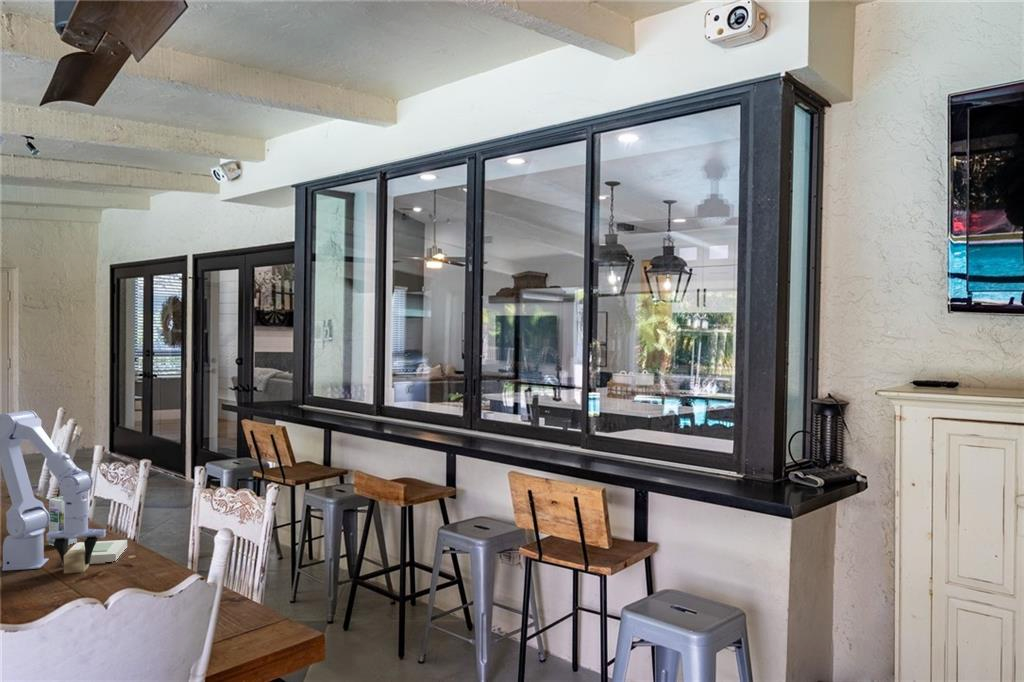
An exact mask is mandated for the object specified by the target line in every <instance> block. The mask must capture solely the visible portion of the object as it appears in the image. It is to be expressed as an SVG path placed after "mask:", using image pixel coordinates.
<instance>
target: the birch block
mask: <svg viewBox="0 0 1024 682" xmlns="http://www.w3.org/2000/svg"><path fill="white" fill-rule="evenodd" d="M89 567H90V564H85V549H80V550H70V549H69V551H68V552H67V553H66V554H65V555H64V566H63V574H74V573H77V574H78V573H84V572H85V571H86V570H87V569H88V568H89Z"/></svg>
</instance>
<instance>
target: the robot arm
mask: <svg viewBox="0 0 1024 682" xmlns="http://www.w3.org/2000/svg"><path fill="white" fill-rule="evenodd" d="M42 421H43V420H42V419H41V418H40V417H39V416H38V414H37V413H36V412H35V411H34V410H31V409H26V410H22V411H16V412H10V413H1V414H0V465H1V469H2V473H3V476H4V477H3V478H4V480H5V483H6V487H7V491H8V495H9V497H10V501H11V504H12V505H11V506H10V507H9V509H7V511H6V512H5V517H6V525H5V526H6V530H7V532H8V534H9V535H7V536H6V537H5V538H4V540H3V544H2V569H1V571H2V572H3V571H17V570H18V571H19V570H33V569H35V570H36V569H37V570H38V569H40V568H42V567H43V566H44V565H45V564H46V563H47V562H48V561H49V559H50V558H49V557H47V558H44V557H45V555H44V554H45V551H44V549H45V547H44V546H45V545H44V541H45V540H46V542H49V541H50V540H55V542H54V546H53V547H54V548H55V550H57V553H58V555H59V557H60V559H61V565H62V564H63V566H62V567H64V555H65V554H66V553H67V552H68V549H69V545H68V541H69V539H77V540H78V539H84V541H83V542H84V545H85V564H89V563H90V559H91V554H92V551H93V548H94V546H95V544H96V542H97V541H98V540H99V538H100V539H104V538H105V537H106V533H107V530H106V528H103V529H101V528H99V529H98V528H89V491H90V490H91V489H92V487H93V484H94V482H93V478H92V476H91V474H90V473H89V472H88V471H85V470H82V469H81V468H79V467H78V466H77V465H76V464H75V462H74V461H73V460H72V459H71V456H70V455H69V454H68V453H66V452H64V451H59V450H58V448H57V447H56V445H55V444H54V442H53V441H52V440H51V438H50V437H49V435H48V434H47V433H46V431H45V430H44V429H43V427H42ZM25 440H28V441H29V443H31V444H32V446H34V447H35V448H36V449H37V451H38V452H39V453H40V454H41V455H42V456H43V457H44V458H45V459H46V462H45V466H46V467H47V469H48V470H49V471H50V472H51V473H52V475H53V476H54V477H55V479H56V480H57V481H58V482H59V485H58V489H59V492H60V493H61V494H62V496H63V500H64V502H65V530H64V531H56V532H49V531H47V533H46V534H44V532H46V528H47V527H49V523H50V515H49V510H48V509H46V507H45V504H44V502H43V501H41V500H39V499H37V498H36V497H35V495H34V492H33V487H32V484H31V481H30V477H29V474H28V470H27V467H26V463H25V460H24V457H23V453H22V449H21V444H22V442H24V441H25ZM44 535H46V536H45V537H46V539H45V538H44ZM44 539H45V540H44ZM89 565H90V564H89Z"/></svg>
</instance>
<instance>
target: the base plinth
mask: <svg viewBox="0 0 1024 682" xmlns="http://www.w3.org/2000/svg"><path fill="white" fill-rule="evenodd" d="M126 548H128V539H120V540H119V539H116V540H100V541H98V540H97V542H96V544H95V546H94V548H93V551H92V554H91V559H90V563H89V565H93V564H96V565H97V564H106V563H105V562H111V561H116V560H117V559H118V558H119V556H120V555H121V554H122V553H123V552H124V553H125V551H126V550H127V549H126ZM80 549H85V545H84V541H82V542H81V541H80V542H78V541H77V543H74V545H73V546H71V547H70V549H69V550H80ZM125 549H126V550H125ZM69 550H68V551H69ZM124 550H125V551H124ZM124 553H123V554H124ZM123 554H122V555H123ZM122 555H121V556H122ZM121 556H120V557H121ZM119 559H120V558H119ZM119 559H118V560H119ZM118 560H117V561H118ZM117 561H116V562H117ZM61 566H62V567H64V566H63V564H62V563H61Z"/></svg>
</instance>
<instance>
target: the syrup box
mask: <svg viewBox="0 0 1024 682" xmlns="http://www.w3.org/2000/svg"><path fill="white" fill-rule="evenodd" d="M48 500H49V501H48V513H49V515H50V523H49V525H48V532H56V531H64V530H65V502H64V500H63V495H62V496H56V497H52V498H50V499H48ZM54 542H55V540H50V541H48V546H50V545H51V546H52V547H55V546H54ZM77 542H78V538H77V539H69V541H68V546H70V544H71V545H73V543H74V544H76V543H77Z"/></svg>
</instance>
